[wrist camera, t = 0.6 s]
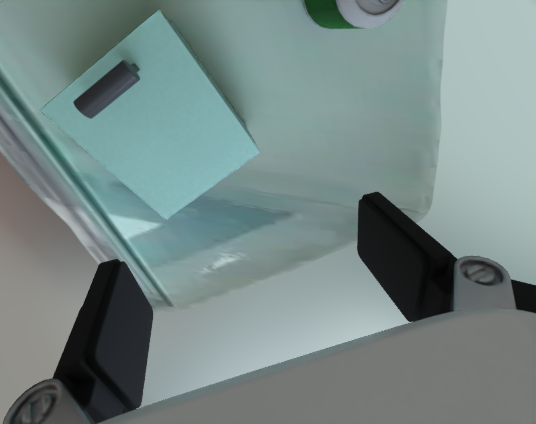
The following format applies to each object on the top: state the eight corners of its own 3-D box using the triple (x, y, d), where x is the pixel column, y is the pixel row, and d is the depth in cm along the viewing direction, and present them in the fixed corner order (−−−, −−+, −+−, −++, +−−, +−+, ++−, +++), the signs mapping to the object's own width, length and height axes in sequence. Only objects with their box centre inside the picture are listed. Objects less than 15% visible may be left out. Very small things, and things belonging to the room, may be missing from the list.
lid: (42, 108, 28) (14, 123, 23) (159, 9, 26) (152, 5, 21) (166, 216, 37) (162, 242, 32) (259, 149, 35) (269, 167, 30)
